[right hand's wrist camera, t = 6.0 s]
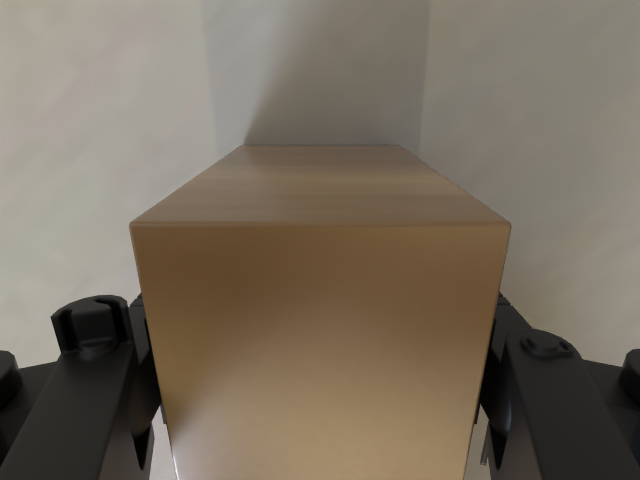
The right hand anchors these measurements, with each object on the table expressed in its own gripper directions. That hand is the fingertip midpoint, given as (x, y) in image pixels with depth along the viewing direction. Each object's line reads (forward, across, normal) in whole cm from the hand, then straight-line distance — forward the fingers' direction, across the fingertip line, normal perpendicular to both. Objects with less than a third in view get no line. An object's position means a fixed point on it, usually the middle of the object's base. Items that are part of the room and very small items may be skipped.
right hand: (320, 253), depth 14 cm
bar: (+1, 0, -8) cm, 8 cm away
